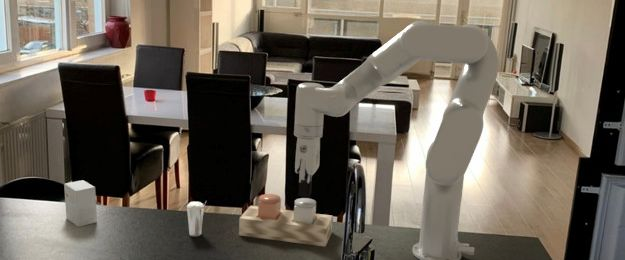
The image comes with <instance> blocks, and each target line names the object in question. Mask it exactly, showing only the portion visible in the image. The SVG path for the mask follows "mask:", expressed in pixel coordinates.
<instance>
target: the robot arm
mask: <svg viewBox="0 0 625 260" xmlns="http://www.w3.org/2000/svg"><path fill="white" fill-rule="evenodd" d="M498 55H499V54H498V52H497V49H496V46H495V44H494V42H493V40H492V39H491V37H490V35H488V33H487V32H486V31H485V30H484V29H482V28H481V27H480V26H478V25H476V24H473V23H467V24H462V25H449V24H448V25H446V24H436V23H435V24H434V23H430V22H428V21H426V20H415V21H414V22H412V23H410V24H409V25H408V26H406V27H405V28H404V29H402V30H401V31H399V32H398V33H397V34H396V35H394V36H393V37H392V38H391V39H390V40H388V41H387V42H385V43H384V44H383V45H381V46H380V47H379V48H378V49H376V50H375V51H373V52H372V54H370V55H369V56H368V57H367V58H366V60H364V62H363V63H361V65H359V66H358V67H357V68H355V69H354V70H353V71H351V72H350V73H349V74H348V75H347V76H345V77H344V78H343V79H342V80H340V81H339V82H338V83H336V84H334V85H333V86H331V87H325V86H324V85H322V84H320V83H316V82H302V83H299V84H298V85H297V86H296V92H295V110H294V127H293V128H294V129H293V135H294V136H295V137H296V139H297V140H296V149H295V161H294V168H295V169H294V172H295V173H296V174H299V177H298V178H299V179H298V191H297V193H298V194H297V195H298V197H302V198H310V197H311V195H312V185H313V184H312V183H313V182H312V180H313V175H314V174H315V173H316V172H317V170H318V169H319V167H320V160H321V159H320V157H321V156H320V151H321V138H323V130H324V117H325V116H324V115H326V116H330V117H333V118H334V117H336V118H338V117H343V116H345V115H346V114H347V113H349V112H350V111H351V109H352V108H353V107H354V106H356V105H357V104H358V103H359V102H361V101H362V100H364V99H365V98H366V97H367V96H369V95H371V93H374V91H376V90H378V88H380V87H382V86H385V85H387V84H389V83H392V82H393V81H394V80H396V79H398V77H400V76H401V75H402V74H404V73H405V72H406V71H408V70H409V69H410V68H412V67H413V66H414V65H415V64H417V63H418V62H420V61H421V60H422V61H429V62H441V63H452V64H460V65H462V66H461V71H460V75H459V77H458V79H457V83H456V86H455V88H454V91H453V93H452V95H451V98H450V100H449V103H448V104H447V106H446V108H445V109H444V111H443V115H442V119H441V123H440V126H439V128H438V131H437V133H436V136H435V137H434V138H435V139H434V140H433V142H432V143H431V144H430V146H429V148H428V150H427V154H426V160H425V177H424V178H425V179H424V187H423V188H424V191H423V198H422V199H423V201H422V208H421V220H420V230H419V241H418V242H417V243H414V244H413V246H412V254H413V256H415V258H417V259H418V260H461V259H462V254H466V255H471V256H474V255H475V247H474V246H470V243H462V242H460V241H459V237H458V234H459V226H460V224H459V223H460V214H461V206H462V200H463V199H462V197H463V191H464V190H463V189H464V178H465V174H466V172H467V170H468V167H469V165H470V163H471V160H472V159H473V155H474V153H475V152H476V149H477V146H478V144H479V141H480V138H481V136H482V133H483V130H484V129H483V128H484V114H485V111H486V108H487V106H488V102H489V100H490V98H491V95H492V92H493V89H494V88H495V84H496V81H497V79H498V78H497V77H498V74H499V57H498Z"/></svg>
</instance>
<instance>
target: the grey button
mask: <svg viewBox="0 0 625 260" xmlns="http://www.w3.org/2000/svg"><path fill="white" fill-rule="evenodd" d="M293 211H294V222H298V223H306V224H313V223H314V221H315V214H317V213H316V212H317V201H316V200H315V199H312V198H310V197H301V198H296V199H295V200H294V207H293Z"/></svg>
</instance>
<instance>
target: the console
mask: <svg viewBox="0 0 625 260" xmlns="http://www.w3.org/2000/svg"><path fill="white" fill-rule="evenodd" d="M333 219H334V216H333V215H330V214H321V213H316V214H315V221H314V223H313V224H306V223H298V222H294V210H289V209H282V208H281V210H280V216H279V218H278V219H277V220H274V219H266V218H258V206H257V205H249V207H248V208H247V209H246V210H245V211H244V212H243V213H242V214H241V216H240V217H239V221H238V223H239V224H238V225H239V226H238V235H239V236H242V237H251V238H257V239H264V240H270V241H271V240H272V241H281V242H287V243H288V242H289V243H296V244H304V245H309V246H316V247H323V248H325V247H327V245H328V241H329V240H330V237H331V236H332V233H333V222H334V221H333Z"/></svg>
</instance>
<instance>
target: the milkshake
mask: <svg viewBox="0 0 625 260" xmlns="http://www.w3.org/2000/svg"><path fill="white" fill-rule="evenodd" d="M206 203H207V201H205V202H204V203H202V202H201V201H190V202H188V204H187V205H186V209H187V211H186V212H187V213H186V214H187V220H188V231H189V234H188V235H189V236H190V237H199V236H201V235H202V229H203V219H204V218H203V216H204V213H205V211H204V210H205V205H206Z"/></svg>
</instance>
